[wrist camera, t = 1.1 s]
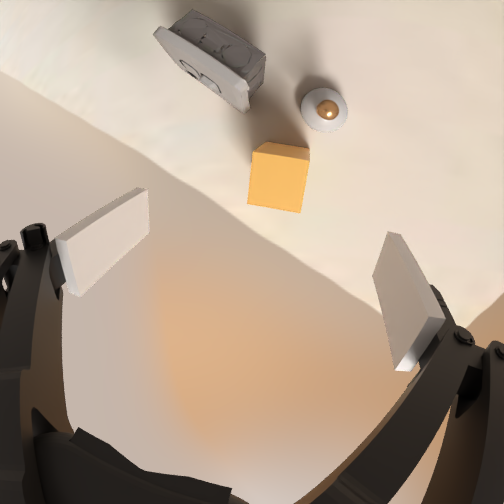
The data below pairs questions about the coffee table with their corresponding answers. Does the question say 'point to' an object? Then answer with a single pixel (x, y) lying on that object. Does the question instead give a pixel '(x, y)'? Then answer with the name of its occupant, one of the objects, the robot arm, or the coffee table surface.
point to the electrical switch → (215, 57)
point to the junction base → (316, 121)
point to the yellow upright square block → (278, 176)
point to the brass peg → (327, 109)
